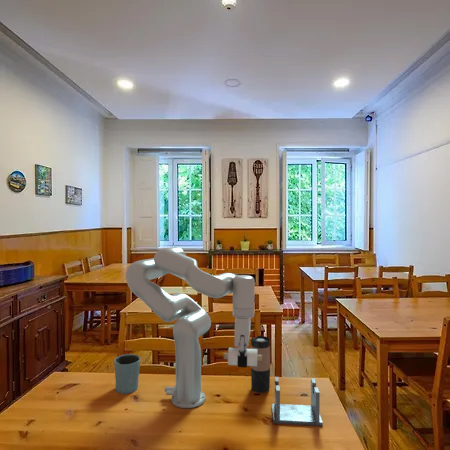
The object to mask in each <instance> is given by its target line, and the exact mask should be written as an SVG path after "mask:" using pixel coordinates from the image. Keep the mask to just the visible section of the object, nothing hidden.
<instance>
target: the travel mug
mask: <svg viewBox="0 0 450 450" xmlns="http://www.w3.org/2000/svg"><path fill="white" fill-rule="evenodd" d="M250 338H251V340H250V349H257V355H262V361H257V366H250V379H251V380H250V381H251V382H250V383H251V390H252V391H253V392H254V393H259V394H265V393H268V392H269V391H270V388H271V387H270V386H271V385H270V383H271V340H270V337H268V336H264V335H258V336H256V337H250Z"/></svg>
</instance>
